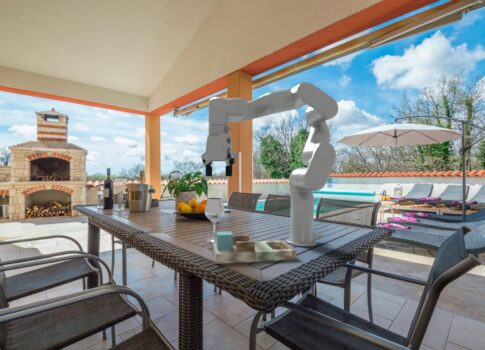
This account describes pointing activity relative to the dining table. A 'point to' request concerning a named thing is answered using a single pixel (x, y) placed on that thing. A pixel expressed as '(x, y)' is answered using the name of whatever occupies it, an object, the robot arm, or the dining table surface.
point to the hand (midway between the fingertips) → (218, 176)
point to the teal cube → (224, 240)
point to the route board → (253, 251)
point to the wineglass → (214, 213)
